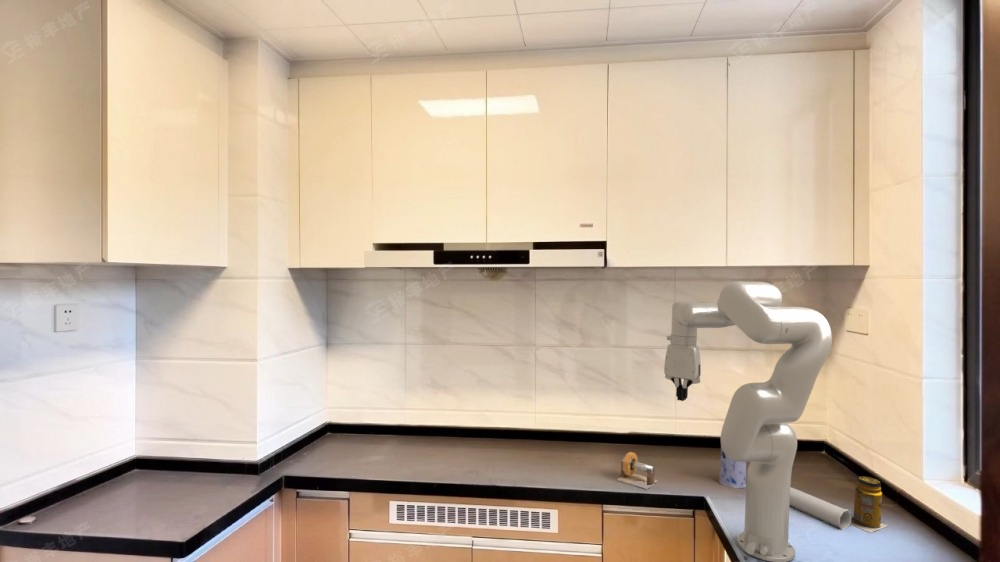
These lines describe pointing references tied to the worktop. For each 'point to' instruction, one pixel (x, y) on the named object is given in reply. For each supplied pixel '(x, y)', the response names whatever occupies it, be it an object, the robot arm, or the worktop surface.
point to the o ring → (627, 462)
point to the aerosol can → (732, 472)
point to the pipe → (640, 466)
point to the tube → (820, 509)
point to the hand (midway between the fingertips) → (681, 399)
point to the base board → (638, 477)
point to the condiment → (867, 505)
